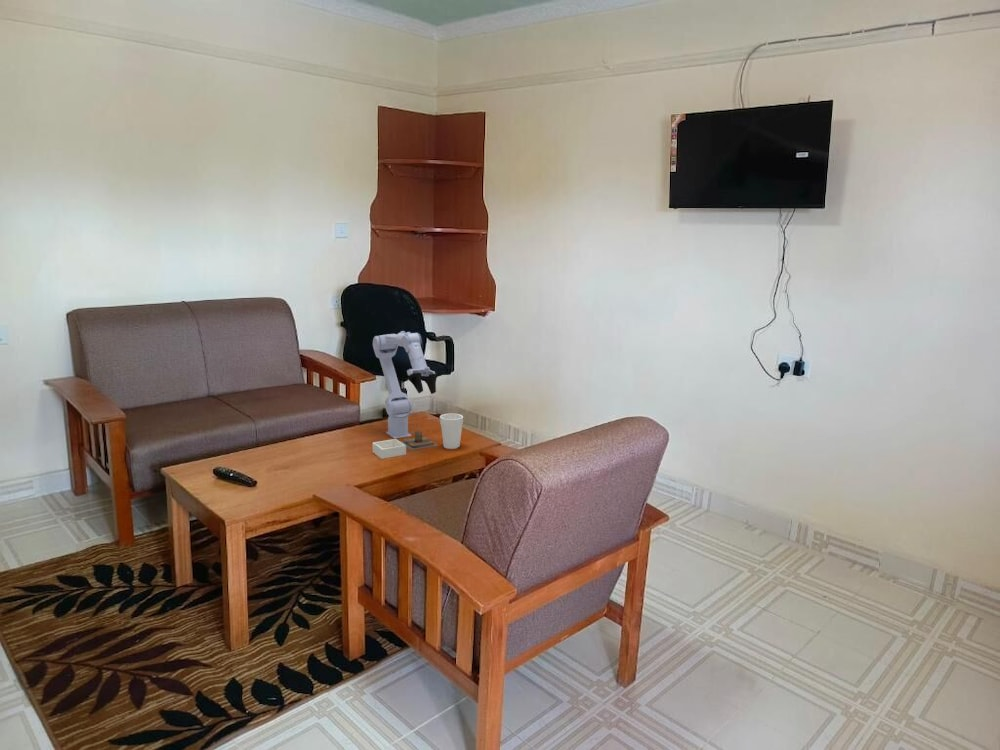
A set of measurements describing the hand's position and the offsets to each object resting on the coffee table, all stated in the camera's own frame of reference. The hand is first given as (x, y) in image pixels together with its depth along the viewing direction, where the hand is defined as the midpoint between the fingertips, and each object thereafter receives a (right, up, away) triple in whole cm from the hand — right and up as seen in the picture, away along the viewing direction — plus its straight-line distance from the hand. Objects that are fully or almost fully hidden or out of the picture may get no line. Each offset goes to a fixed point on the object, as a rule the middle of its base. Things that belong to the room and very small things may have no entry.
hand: (427, 392), depth 275 cm
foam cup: (+9, -23, +12) cm, 27 cm away
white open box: (-15, -24, +3) cm, 29 cm away
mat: (-5, -22, +15) cm, 27 cm away
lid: (-5, -21, +15) cm, 27 cm away
